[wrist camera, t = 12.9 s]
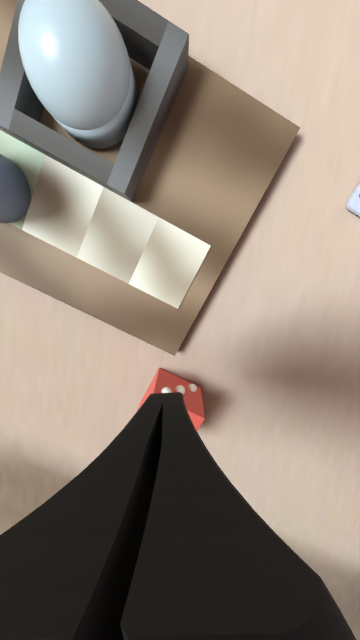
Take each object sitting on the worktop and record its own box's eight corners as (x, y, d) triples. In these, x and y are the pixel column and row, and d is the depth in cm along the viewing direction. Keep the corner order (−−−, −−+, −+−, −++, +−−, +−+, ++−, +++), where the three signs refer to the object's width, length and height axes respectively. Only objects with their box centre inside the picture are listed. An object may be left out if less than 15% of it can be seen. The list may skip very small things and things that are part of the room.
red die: (161, 363, 19) (155, 393, 15) (202, 383, 19) (208, 418, 15) (139, 404, 20) (128, 442, 16) (179, 421, 20) (178, 464, 16)
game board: (-60, -88, 12) (-135, -196, 9) (292, 136, 15) (319, 105, 12) (-109, 214, 16) (-172, 203, 13) (175, 350, 19) (173, 367, 16)
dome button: (74, 32, 13) (7, -108, 8) (153, 81, 13) (136, -22, 8) (46, 126, 14) (-28, 54, 9) (120, 167, 14) (88, 120, 10)
